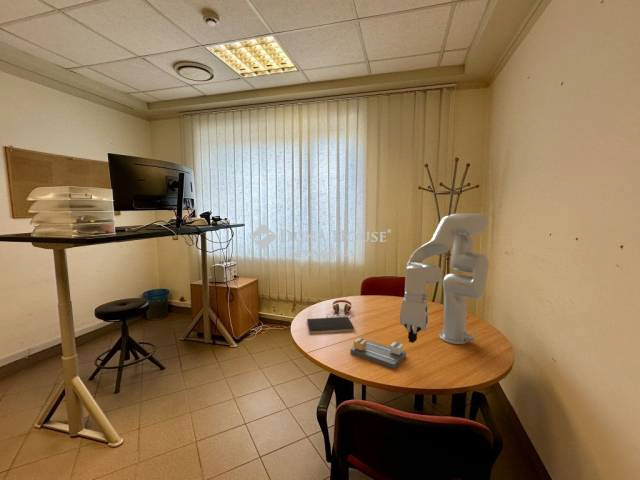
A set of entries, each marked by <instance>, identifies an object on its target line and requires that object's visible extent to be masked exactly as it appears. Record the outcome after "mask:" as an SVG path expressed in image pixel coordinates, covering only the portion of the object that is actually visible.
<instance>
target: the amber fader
mask: <svg viewBox="0 0 640 480" xmlns="http://www.w3.org/2000/svg"><path fill="white" fill-rule="evenodd" d="M367 340H368V339H366V340H364V338H363V337H358V338H356V339H355V340H354V341H353V347H354V348H355V349H358V350H361V351H362V350H363V349H365V348H366V341H367Z"/></svg>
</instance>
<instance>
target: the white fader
mask: <svg viewBox="0 0 640 480" xmlns="http://www.w3.org/2000/svg"><path fill="white" fill-rule="evenodd" d="M389 347H390V352H391V353H394V354H397V355H400V354H401V353H402V352H403V351H404V344H402V343H400V341H393V342H392V343H391V344H389Z"/></svg>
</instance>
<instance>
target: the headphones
mask: <svg viewBox="0 0 640 480" xmlns="http://www.w3.org/2000/svg"><path fill="white" fill-rule="evenodd" d="M339 303H345V305H344V307H343V312H342V313H340V305H339ZM332 308H333V310H334V312H335V313H336V316H335V315H333V316H331V317H330V318H334V317H339V314H340V315H343V314H344V316H343V317H348V315H346V314H347V313H349V312H350V311H351V309H352V302H351V301H349V300H346V299H337V300H335V301H333V302H332ZM328 315H330V313H327V316H326V318H329V317H328ZM351 317H354V315H351ZM351 317H348V318H349V320H350V319H351Z"/></svg>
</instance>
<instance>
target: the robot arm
mask: <svg viewBox="0 0 640 480" xmlns="http://www.w3.org/2000/svg"><path fill="white" fill-rule="evenodd" d="M489 224H490V223H489V218H488V216H487V215H486V214H484V213H470V212H469V213H465V212H464V213H463V212H462V213H459V212H458V213H451V214H450V215H445V216H444V217H442V218H441V220H440V221H439V223H438V225H437V227H436V230H434V233H433V235H432V237H431V239H430V240H429V241H428V242H426V243H424V244H423V245H421V246H420V247H418V248H416V250H415V251H413V253H412V254H411V255H410V258H409V260H408V261H407V263H406V267H405V279H404V297H403V298H402V301H401V305H400V313H399V324H400V325H401V326H403V327H404V328H405V329H406V331H407V334H408V335H407V339H408V342H409V343H411V344H414V343H415V342H416V341H417V340H418V339H417V338H418V333H419V332H420V331H421V332H422V331H424V332H425V331H427V330H428V326H427V325H428V322H429V310H428V301H427V300H429V296H428V295H426V284H436V283H438V282H440V280H441V279H442V277H443V271H442V268H440V266H438V265H436V264H433V263H426V262H423V261H425V260H426V259H428V258H430V257H434V256H437V255H442V254H445V253H448V252H449V251H450V250H451V248H452V250H451V251H452V252H451V255H450V256H451V257H450V263H449V265H450V268H451V269H452V270H453V271H457V272H461V273H468V274H472V276H471V275H466V274H460V273H448V274H446V275H444V277H443V279H442V287H443V294H444V295H443V297H444V298H443V299H444V300H443V301H444V303H443V320H442V321H443V323H442V325H443V327H442V330H441V332H439V335H438V336H439V338H440V339H441V340H442V341H444V342H447V343H449V344H452V345H465V344H468V343H469V341H471V342H475V341H476V336H474V334H470V333H468V330H467V329H466V321H467V320H466V319H467V317H466V316H467V302H466V299H465V297H466V298H470V299H476V300H478V299H481V298H482V297H483V296H484V293H485V291H486V290H485V289H486V284H487V280H488V279H487V278H488V274H489V267H490V266H489V258H488V257H487V256H486V255H485V254H484V253H479V252H473V251H474V244H475V243H474V242H475V241H474V239H473V236H476V235H479V234H483V233H484V232H485V231H486V230H487V229H488V227H489Z"/></svg>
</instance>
